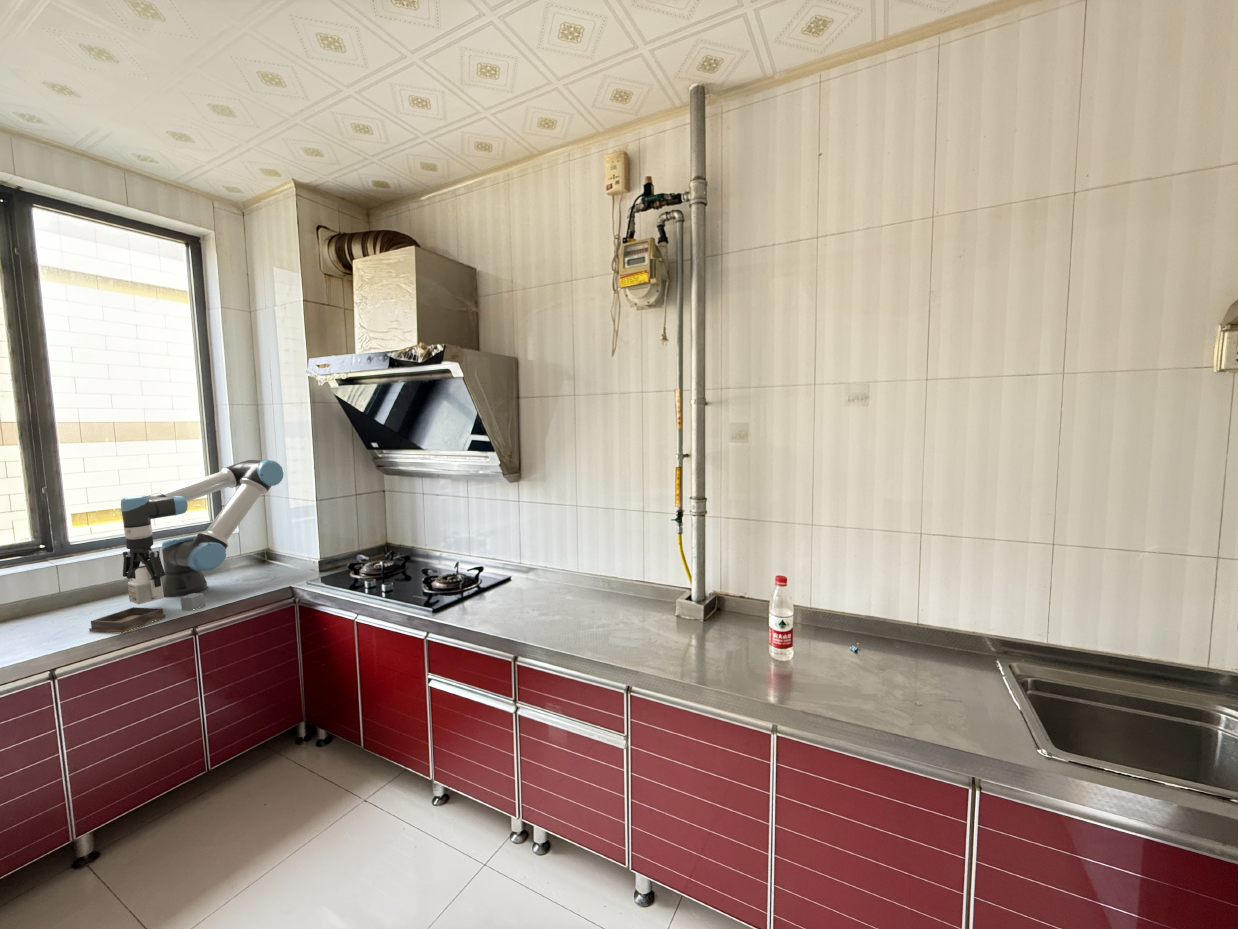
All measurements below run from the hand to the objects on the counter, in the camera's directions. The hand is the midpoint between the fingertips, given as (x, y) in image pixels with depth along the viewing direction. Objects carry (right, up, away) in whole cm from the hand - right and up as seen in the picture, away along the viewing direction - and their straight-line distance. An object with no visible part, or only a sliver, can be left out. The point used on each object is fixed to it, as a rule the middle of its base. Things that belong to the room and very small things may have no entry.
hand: (146, 594), depth 195 cm
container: (0, -2, 0) cm, 2 cm away
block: (+16, -6, +2) cm, 17 cm away
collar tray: (+6, -7, -13) cm, 16 cm away
